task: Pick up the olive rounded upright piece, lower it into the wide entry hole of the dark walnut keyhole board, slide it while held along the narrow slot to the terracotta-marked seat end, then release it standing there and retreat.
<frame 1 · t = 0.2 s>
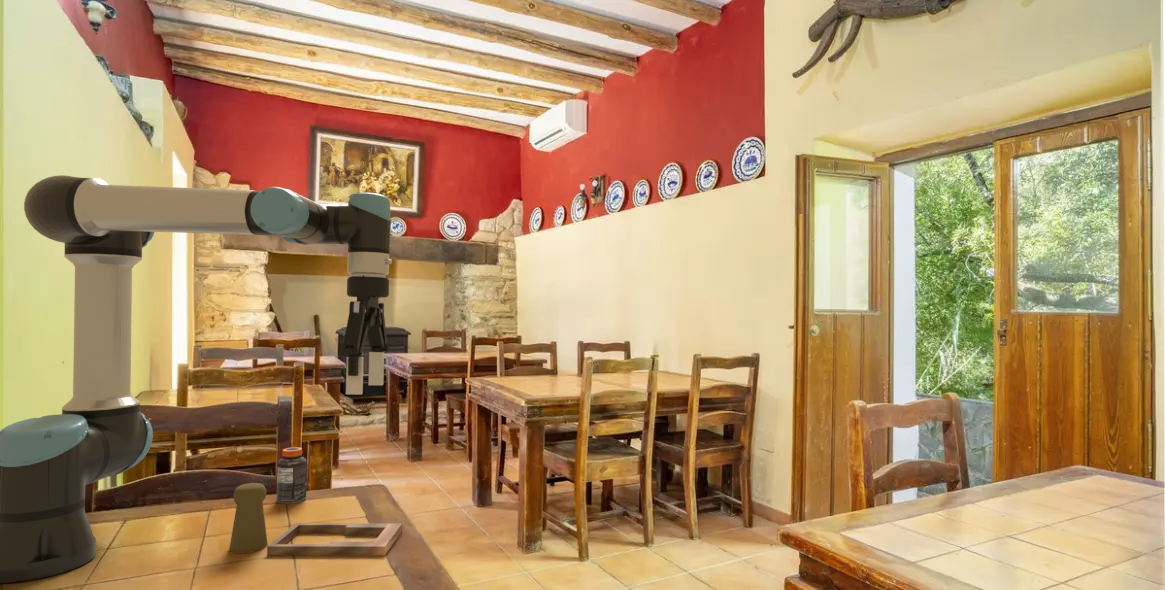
hand: (365, 389, 120), 27 cm above the table, fingers open, 13 cm apart
pill bottle: (291, 501, 142), on the table
olive rounded upright piece: (248, 547, 114), on the table
keyhole board: (338, 542, 116), on the table
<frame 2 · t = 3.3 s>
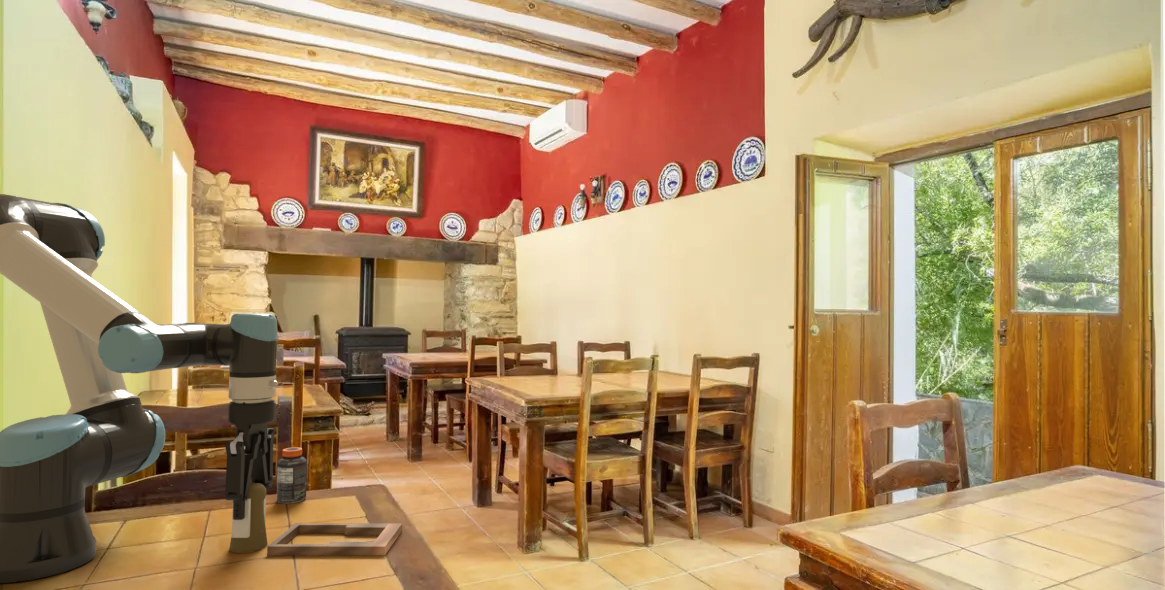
hand: (249, 530, 114), 3 cm above the table, fingers closed on olive rounded upright piece, 5 cm apart
olive rounded upright piece: (248, 547, 114), on the table, touching gripper
everything else where it was.
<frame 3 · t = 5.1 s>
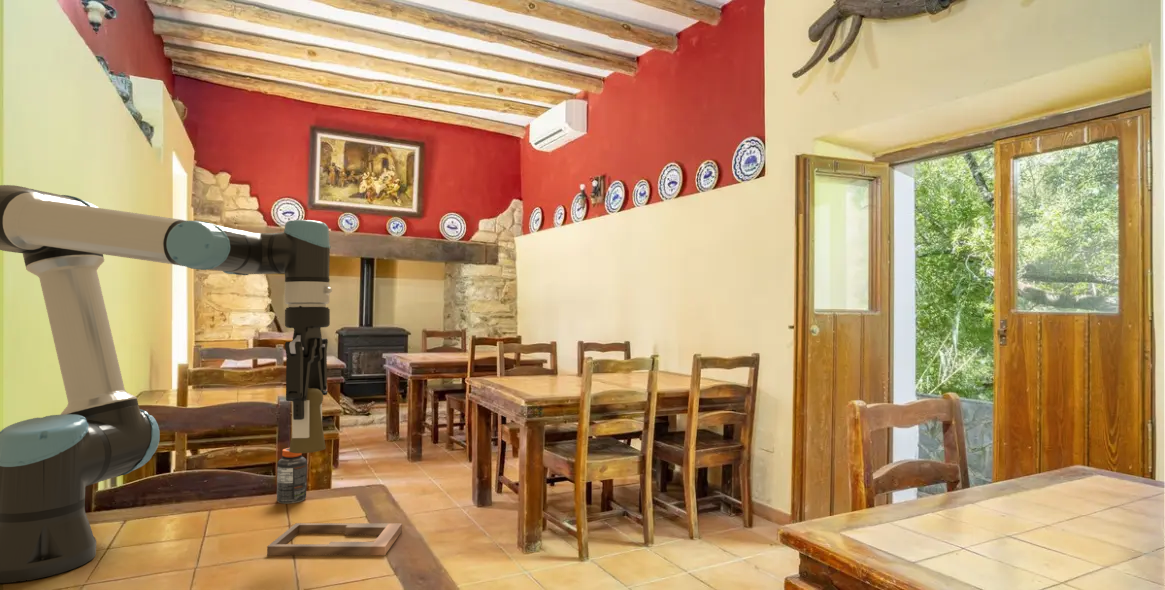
hand: (307, 434, 116), 20 cm above the table, fingers closed on olive rounded upright piece, 5 cm apart
olive rounded upright piece: (307, 450, 116), point 17 cm above the table, touching gripper
everything else where it was.
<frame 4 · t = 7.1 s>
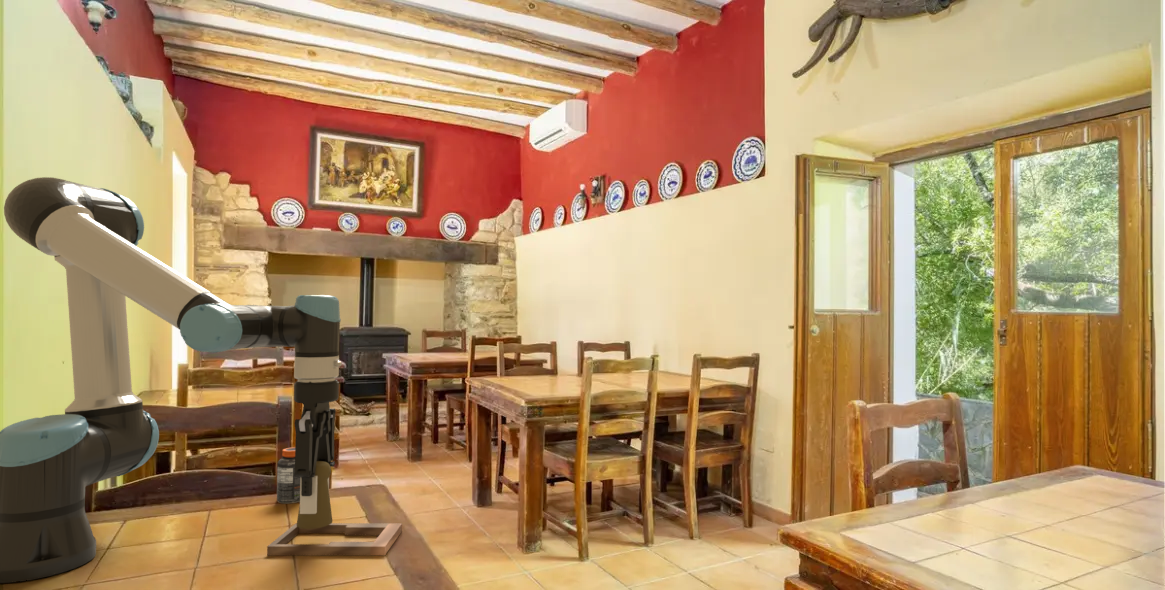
hand: (314, 507, 116), 6 cm above the table, fingers closed on olive rounded upright piece, 5 cm apart
olive rounded upright piece: (314, 524, 116), point 3 cm above the table, touching gripper
everything else where it was.
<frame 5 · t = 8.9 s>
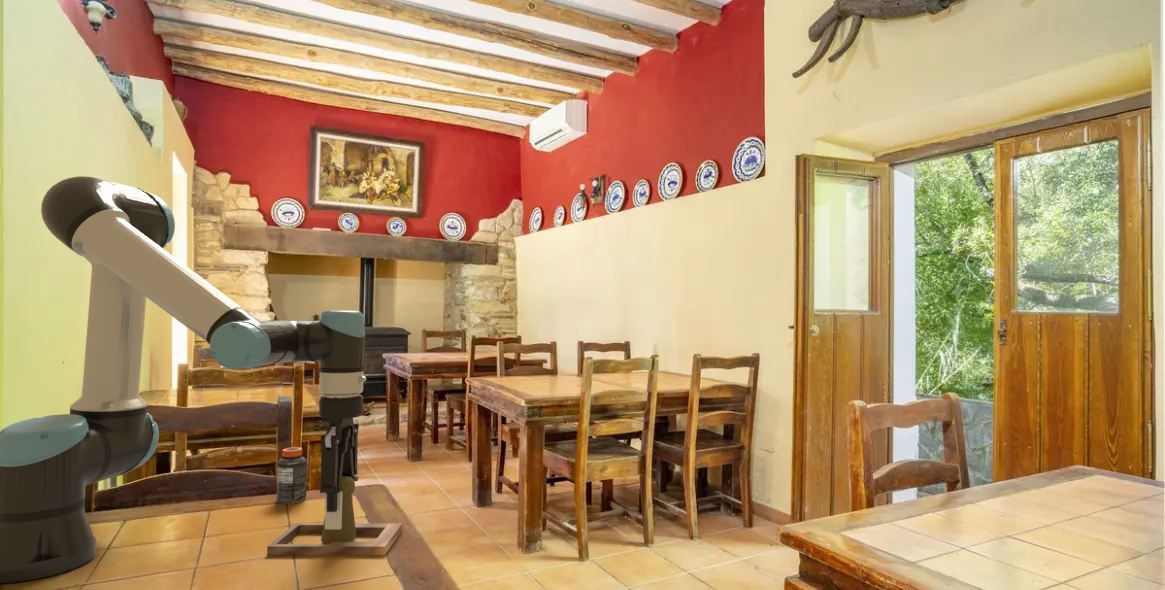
hand: (338, 522, 116), 4 cm above the table, fingers closed on olive rounded upright piece, 5 cm apart
olive rounded upright piece: (338, 539, 116), point 1 cm above the table, touching gripper
everything else where it was.
when the fingers open (3 cm above the table, at t = 10.8 s): olive rounded upright piece stays where it is, resting in keyhole board.
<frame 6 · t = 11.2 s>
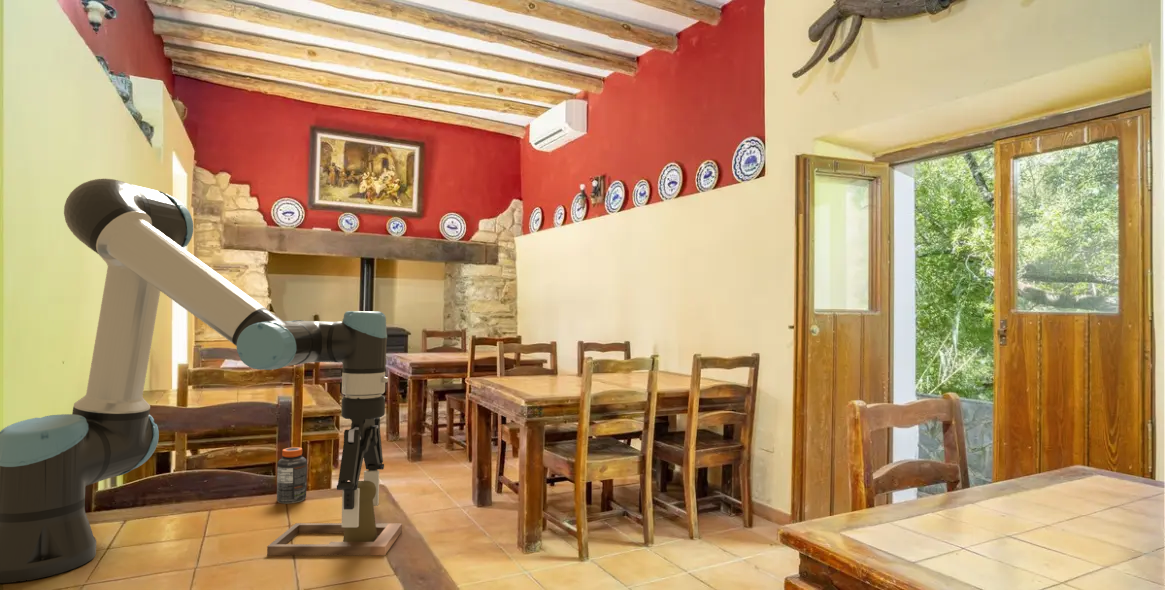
hand: (361, 515, 117), 5 cm above the table, fingers open, 11 cm apart
olive rounded upright piece: (360, 544, 116), resting in keyhole board
everything else where it was.
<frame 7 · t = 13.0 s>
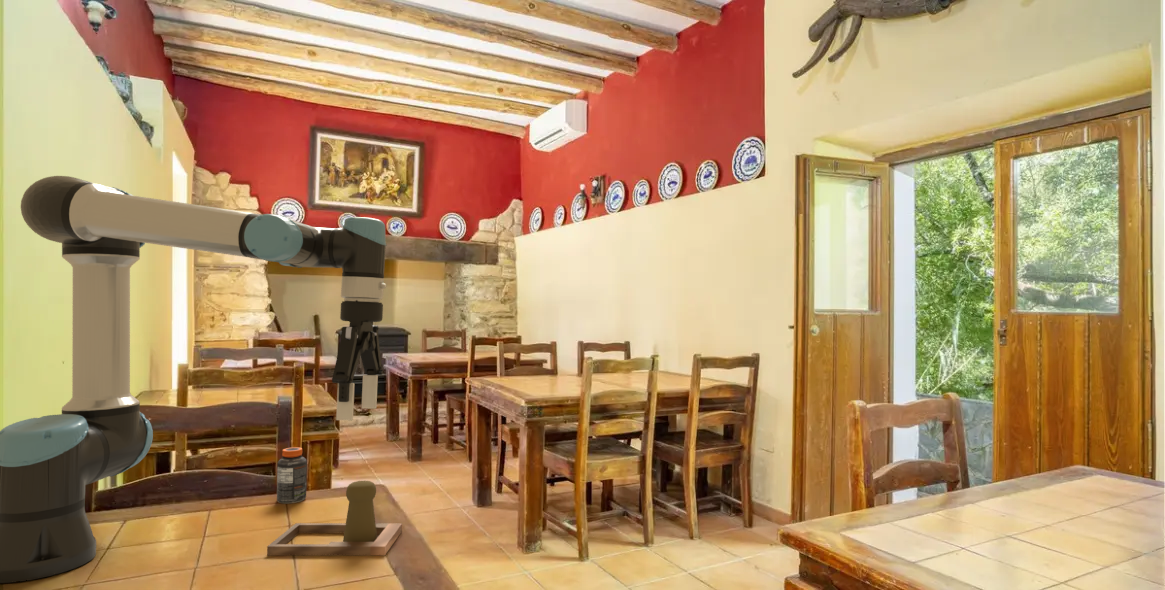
hand: (357, 414, 120), 23 cm above the table, fingers open, 13 cm apart
nothing on the table moved.
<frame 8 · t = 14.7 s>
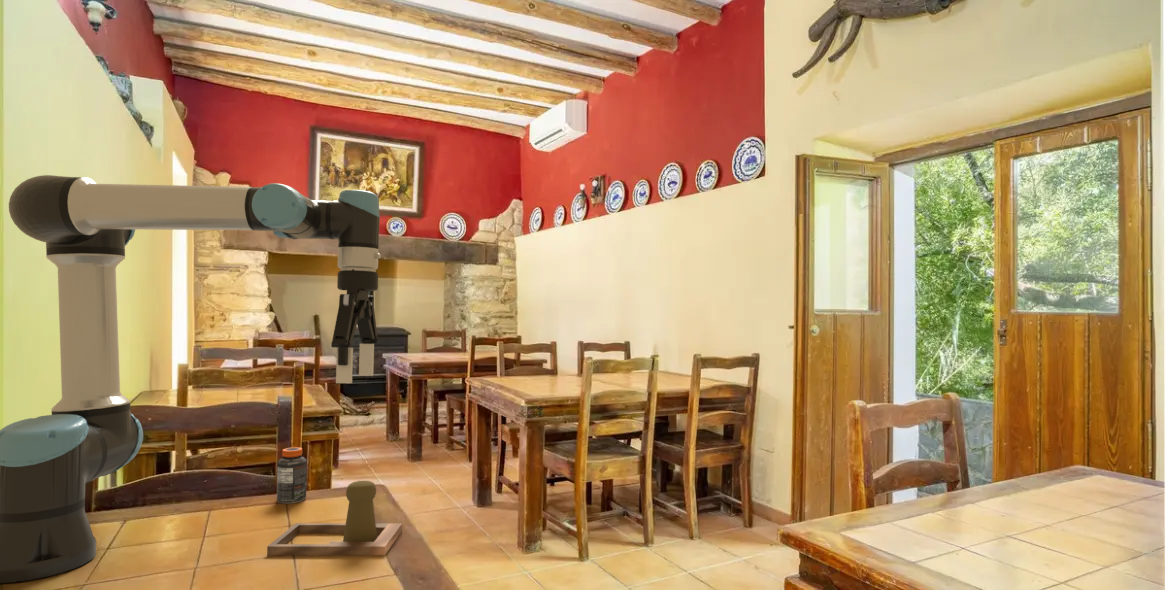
hand: (355, 379, 125), 29 cm above the table, fingers open, 13 cm apart
nothing on the table moved.
at the end: olive rounded upright piece 0.3 cm from the target spot on the keyhole board, point 0.0 cm above the keyhole board's base; olive rounded upright piece tilted 0°; the gripper is holding nothing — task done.
